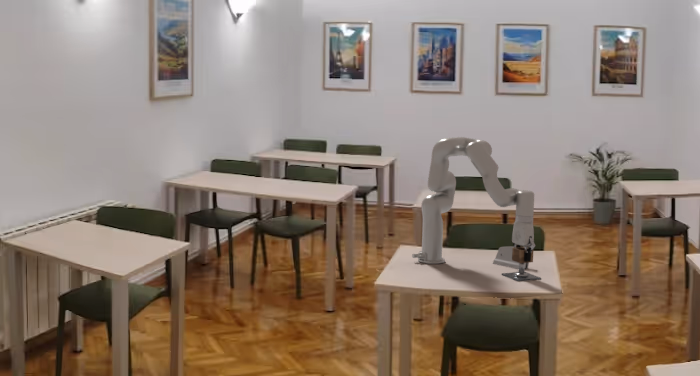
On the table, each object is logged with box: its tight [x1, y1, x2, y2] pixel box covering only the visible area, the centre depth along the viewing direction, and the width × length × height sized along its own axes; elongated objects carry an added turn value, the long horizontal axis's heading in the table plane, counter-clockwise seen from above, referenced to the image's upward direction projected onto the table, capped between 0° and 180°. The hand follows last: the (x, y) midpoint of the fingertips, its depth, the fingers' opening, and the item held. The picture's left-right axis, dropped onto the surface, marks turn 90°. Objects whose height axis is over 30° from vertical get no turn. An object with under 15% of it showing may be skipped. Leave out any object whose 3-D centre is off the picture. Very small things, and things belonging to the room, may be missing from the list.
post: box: [501, 263, 542, 282], centre depth 347 cm, size 12×12×8 cm
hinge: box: [492, 245, 530, 270], centre depth 368 cm, size 17×5×10 cm, turn 45°
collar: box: [512, 246, 534, 264], centre depth 346 cm, size 6×6×6 cm
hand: (522, 259), depth 346 cm, fingers closed on collar, 6 cm apart
